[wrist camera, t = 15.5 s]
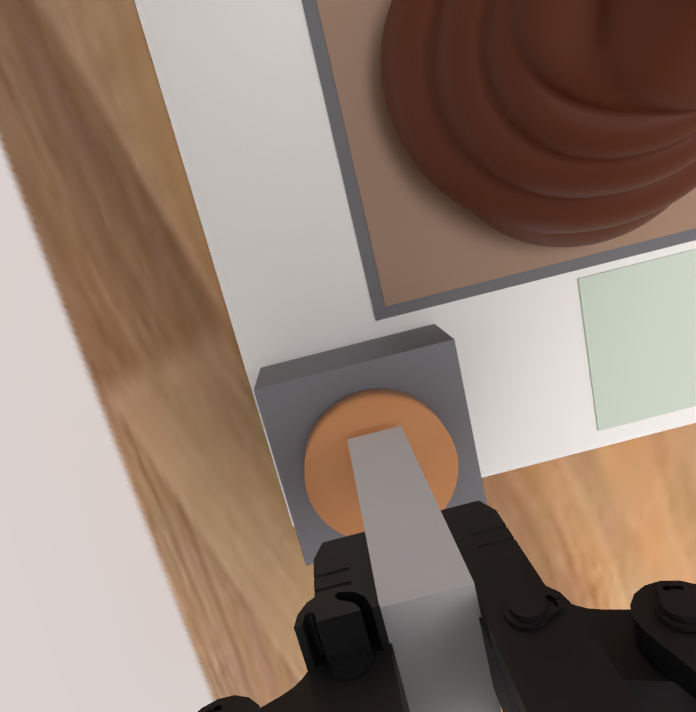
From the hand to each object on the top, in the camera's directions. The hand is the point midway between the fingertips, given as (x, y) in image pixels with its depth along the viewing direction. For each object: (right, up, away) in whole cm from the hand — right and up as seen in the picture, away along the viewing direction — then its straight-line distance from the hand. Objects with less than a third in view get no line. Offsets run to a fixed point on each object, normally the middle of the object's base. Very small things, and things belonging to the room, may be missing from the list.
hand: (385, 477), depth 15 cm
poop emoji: (+5, +11, +2) cm, 12 cm away
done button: (0, +1, +4) cm, 4 cm away
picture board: (+3, +9, +3) cm, 10 cm away
